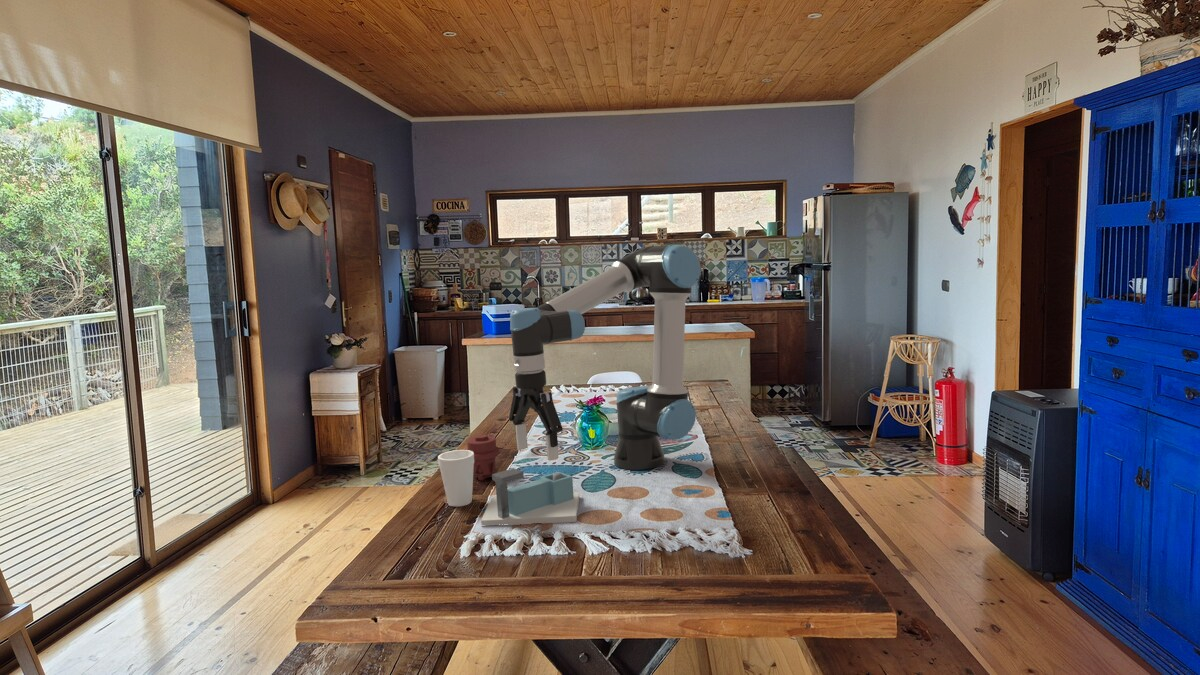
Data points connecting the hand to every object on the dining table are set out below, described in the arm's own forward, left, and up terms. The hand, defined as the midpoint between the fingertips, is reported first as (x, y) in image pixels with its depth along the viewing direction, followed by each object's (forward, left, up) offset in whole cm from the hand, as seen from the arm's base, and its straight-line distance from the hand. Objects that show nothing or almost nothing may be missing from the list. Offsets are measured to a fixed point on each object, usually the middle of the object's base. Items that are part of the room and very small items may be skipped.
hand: (537, 454), depth 182 cm
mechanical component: (+20, -30, -15) cm, 39 cm away
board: (+2, 0, -15) cm, 15 cm away
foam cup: (+23, -9, -15) cm, 29 cm away
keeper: (+7, +6, -15) cm, 17 cm away
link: (0, 0, -13) cm, 13 cm away
